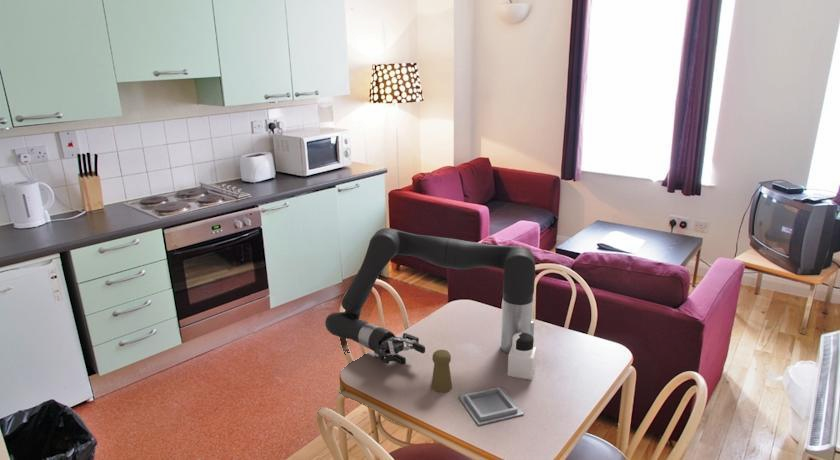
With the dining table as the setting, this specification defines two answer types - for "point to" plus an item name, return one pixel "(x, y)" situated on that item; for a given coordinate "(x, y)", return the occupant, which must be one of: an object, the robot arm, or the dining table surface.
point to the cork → (441, 371)
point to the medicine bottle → (522, 356)
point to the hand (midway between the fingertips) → (415, 355)
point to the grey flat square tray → (490, 406)
